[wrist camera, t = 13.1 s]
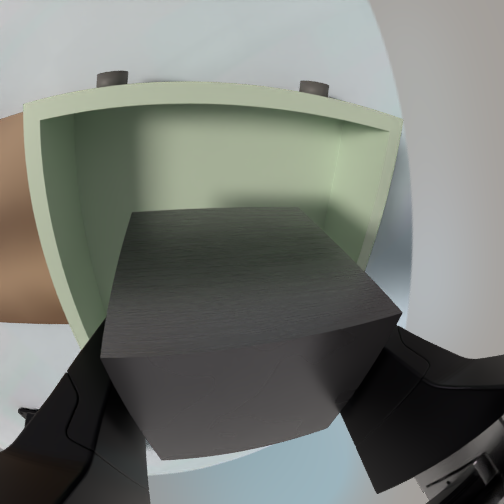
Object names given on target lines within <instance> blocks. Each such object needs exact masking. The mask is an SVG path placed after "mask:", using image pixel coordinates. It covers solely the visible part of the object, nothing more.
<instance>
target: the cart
mask: <svg viewBox="0 0 504 504" xmlns="http://www.w3.org/2000/svg"><path fill="white" fill-rule="evenodd" d="M127 81H128V71H111V72H105V73H100V74H98V75H97V88H93V89H87V90H81V91H76V92H71V93H66V94H61V95H56V96H52V97H48V98H44V99H40V100H36V101H33V102H29V103H26V104H23V128H24V147H25V159H26V168H27V176H28V183H29V190H30V196H31V202H32V207H33V212H34V217H35V221H36V226H37V230H38V234H39V238H40V242H41V246H42V249H43V253H44V256H45V260H46V263H47V266H48V269H49V273H50V276H51V279H52V281H53V284H54V287H55V290H56V293H57V295H58V298H59V301H60V303H61V306H62V308H63V311H64V313H65V316H66V318H67V320H68V323H69V325H70V327H71V329H72V332H73V334H74V336H75V338H76V340H77V342H78V344H79V346H80V348H81V350H82V349H83V347H84V346H85V345H86V343H87V342H88V340H89V339H90V338H91V336H92V335H93V334H94V332H95V331H96V330H97V328H98V327H99V326H100V324H101V323H102V322H103V320H104V319H105V318H106V315H107V310H108V305H109V300H110V295H111V290H112V285H113V281H114V276H115V272H116V268H117V264H118V260H119V256H120V252H121V248H122V244H123V241H124V237H125V234H126V230H127V227H128V223H129V220H130V217H131V214H132V212H141V211H158V210H177V209H201V208H234V207H298V208H299V209H301V210H302V211H303V212H304V213H305V214H306V215H307V216H308V217H309V218H310V219H311V220H312V221H313V222H315V223H316V224H317V225H318V226H319V227H320V228H321V229H322V230H323V231H324V232H325V233H326V234H327V235H328V236H329V237H330V238H331V239H332V240H333V241H334V242H335V243H336V244H337V245H338V246H339V247H340V248H341V249H342V250H343V251H344V252H345V253H346V254H347V255H349V257H350V258H351V259H352V260H353V261H354V262H355V263H356V264H357V265H358V266H359V267H360V268H361V269H362V270H363V271H364V272H365V269H366V266H367V263H368V260H369V257H370V254H371V251H372V248H373V245H374V242H375V238H376V235H377V232H378V228H379V225H380V222H381V218H382V215H383V211H384V207H385V204H386V200H387V196H388V192H389V188H390V184H391V180H392V175H393V171H394V167H395V162H396V157H397V152H398V147H399V142H400V136H401V131H402V125H403V119H401V118H398V117H395V116H392V115H389V114H386V113H383V112H380V111H377V110H373V109H370V108H367V107H363V106H360V105H356V104H352V103H348V102H344V101H340V100H336V99H332V98H328V90H329V85H327V84H323V83H319V82H313V81H300V90H299V92H298V91H292V90H286V89H279V88H272V87H264V86H256V85H246V84H234V83H219V82H151V83H136V84H127Z"/></svg>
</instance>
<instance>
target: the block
mask: <svg viewBox="0 0 504 504" xmlns="http://www.w3.org/2000/svg"><path fill="white" fill-rule="evenodd" d="M402 313H403V312H402V311H401V310H400V309H399V308H398V307H397V306H396V305H395V304H394V303H393V301H392V300H391V299H390V298H389V297H388V296H387V295H386V294H385V293H384V292H383V291H382V290H381V289H380V287H379V286H378V285H377V284H376V283H375V282H374V281H373V280H372V279H371V278H370V277H369V276H368V275H367V274H366V273H365V272H364V271H363V270H362V269H361V268H360V267H359V266H358V265H357V264H356V263H355V262H354V261H353V260H352V259H351V258H350V257H349V255H347V254H346V253H345V252H344V251H343V250H342V249H341V248H340V247H339V246H338V245H337V244H336V243H335V242H334V241H333V240H332V239H331V238H330V237H329V236H328V235H327V234H326V233H325V232H324V231H323V230H322V229H321V228H320V227H319V226H318V225H317V224H316V223H315V222H313V221H312V220H311V219H310V218H309V217H308V216H307V215H306V214H305V213H304V212H303V211H302V210H301V209H299V208H298V207H234V208H201V209H177V210H158V211H141V212H132V214H131V217H130V220H129V223H128V227H127V230H126V234H125V237H124V241H123V244H122V248H121V252H120V256H119V260H118V264H117V268H116V272H115V276H114V281H113V285H112V290H111V295H110V300H109V305H108V310H107V315H106V321H105V327H104V333H103V340H102V347H101V355H100V359H101V361H102V363H103V365H104V367H105V369H106V371H107V373H108V375H109V377H110V379H111V381H112V383H113V385H114V386H115V388H116V390H117V392H118V394H119V396H120V397H121V399H122V401H123V403H124V404H125V406H126V408H127V409H128V411H129V413H130V414H131V416H132V418H133V419H134V421H135V422H136V424H137V426H138V427H139V429H140V430H141V432H142V433H143V435H144V436H145V438H146V439H147V441H148V442H149V443H150V445H151V446H152V448H153V449H154V451H155V452H156V453H157V455H158V456H159V457H160V459H161V460H176V459H189V458H199V457H207V456H215V455H222V454H228V453H234V452H239V451H245V450H250V449H255V448H259V447H264V446H268V445H272V444H276V443H280V442H284V441H287V440H291V439H295V438H298V437H301V436H305V435H308V434H311V433H314V432H317V431H320V430H323V429H326V428H328V427H329V425H330V424H331V423H332V422H333V420H334V419H335V418H336V416H337V415H338V414H339V413H340V411H341V410H342V409H343V407H344V406H345V405H346V403H347V402H348V401H349V399H350V398H351V396H352V395H353V394H354V392H355V391H356V389H357V388H358V386H359V385H360V384H361V382H362V381H363V379H364V378H365V376H366V375H367V373H368V371H369V370H370V368H371V367H372V365H373V364H374V362H375V360H376V359H377V357H378V356H379V354H380V352H381V351H382V349H383V347H384V346H385V344H386V342H387V340H388V339H389V337H390V335H391V333H392V331H393V330H394V328H395V326H396V324H397V322H398V320H399V319H400V317H401V315H402Z"/></svg>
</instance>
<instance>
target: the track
mask: <svg viewBox="0 0 504 504" xmlns="http://www.w3.org/2000/svg"><path fill="white" fill-rule="evenodd" d="M0 322H7V323H32V324H69V323H68V320H67V318H66V316H65V313H64V311H63V308H62V306H61V303H60V301H59V298H58V295H57V293H56V290H55V287H54V284H53V281H52V279H51V276H50V273H49V269H48V266H47V263H46V260H45V256H44V253H43V249H42V246H41V242H40V238H39V234H38V230H37V226H36V221H35V217H34V212H33V207H32V202H31V196H30V190H29V183H28V176H27V168H26V159H25V147H24V128H23V112H22V113H18V114H15V115H12V116H9V117H6V118H3V119H0Z"/></svg>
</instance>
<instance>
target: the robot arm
mask: <svg viewBox="0 0 504 504" xmlns="http://www.w3.org/2000/svg"><path fill="white" fill-rule="evenodd" d="M105 321H106V318H105V319H104V320H103V322H102V323H101V324H100V326H99V327H98V328H97V330H96V331H95V332H94V334H93V335H92V336H91V338H90V339H89V340H88V342H87V343H86V345H85V346H84V347H83V349H82V350H81V351H80V353H79V354H78V356H77V357H76V358H75V360H74V361H73V363H72V364H71V366H70V367H69V369H68V370H67V372H68V373H65V374H64V376H63V377H62V379H61V380H60V382H59V383H58V384H57V386H56V387H55V389H54V390H53V392H52V393H51V394H50V396H49V397H48V398H47V400H46V401H45V402H44V404H43V405H42V406H41V408H40V409H39V410H38V411H37V412H36V411H30V410H25V409H20V408H19V409H18V413H19V414H20V415H21V416H22V417H23V418H25V419H26V420H25V427H24V429H23V431H22V432H21V433H20V435H19V436H18V437H17V438H16V440H15V441H14V442H13V443H12V444H11V445H10V446H9V447H7V448H6V449H5V450H3V451H1V452H0V504H150V495H149V491H148V490H149V487H148V476H147V462H146V443H145V436H144V435H143V433H142V432H141V430H140V429H139V427H138V426H137V424H136V422H135V421H134V419H133V418H132V416H131V414H130V413H129V411H128V409H127V408H126V406H125V404H124V403H123V401H122V399H121V397H120V396H119V394H118V392H117V390H116V388H115V386H114V385H113V383H112V381H111V379H110V377H109V375H108V373H107V371H106V369H105V367H104V365H103V363H102V361H101V359H100V355H101V347H102V340H103V333H104V327H105ZM340 413H341V416H342V418H343V420H344V422H345V424H346V427H347V429H348V431H349V433H350V435H351V438H352V440H353V441H354V444H355V446H356V449H357V451H358V454H359V456H360V458H361V460H362V462H363V465H364V467H365V469H366V471H367V474H368V476H369V478H370V480H371V482H372V485H373V487H374V489H375V491H376V493H377V494H379V493H381V492H383V491H386V490H388V489H390V488H393V487H395V486H397V485H399V484H401V483H403V482H405V481H407V480H409V479H411V478H413V477H415V479H416V481H417V482H418V484H419V486H420V488H421V490H422V492H423V493H424V492H425V494H426V495H427V497H428V499H429V502H427V503H426V504H504V355H499V356H493V357H487V358H481V359H468V358H464V357H461V356H459V355H456V354H454V353H452V352H450V351H448V350H446V349H443V348H441V347H439V346H437V345H434V344H433V343H430V342H428V341H426V340H424V339H422V338H420V337H418V336H416V335H414V334H412V333H410V332H409V331H407V330H405V329H403V328H402V327H400V326H397V325H396V326H395V328H394V330H393V331H392V333H391V335H390V337H389V339H388V340H387V342H386V344H385V346H384V347H383V349H382V351H381V352H380V354H379V356H378V357H377V359H376V360H375V362H374V364H373V365H372V367H371V368H370V370H369V371H368V373H367V375H366V376H365V378H364V379H363V381H362V382H361V384H360V385H359V386H358V388H357V389H356V391H355V392H354V394H353V395H352V396H351V398H350V399H349V401H348V402H347V403H346V405H345V406H344V407H343V409H342V410H341V411H340Z"/></svg>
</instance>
